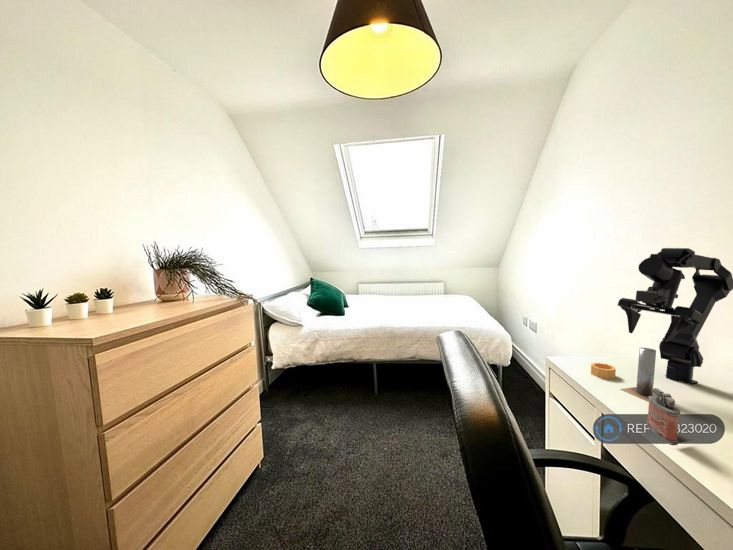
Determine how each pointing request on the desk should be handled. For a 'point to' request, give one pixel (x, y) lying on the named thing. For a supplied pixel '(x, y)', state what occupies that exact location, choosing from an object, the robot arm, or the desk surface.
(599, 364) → the socket plate
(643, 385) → the steel peg
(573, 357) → the desk surface
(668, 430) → the lighter
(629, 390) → the board
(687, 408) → the desk surface
